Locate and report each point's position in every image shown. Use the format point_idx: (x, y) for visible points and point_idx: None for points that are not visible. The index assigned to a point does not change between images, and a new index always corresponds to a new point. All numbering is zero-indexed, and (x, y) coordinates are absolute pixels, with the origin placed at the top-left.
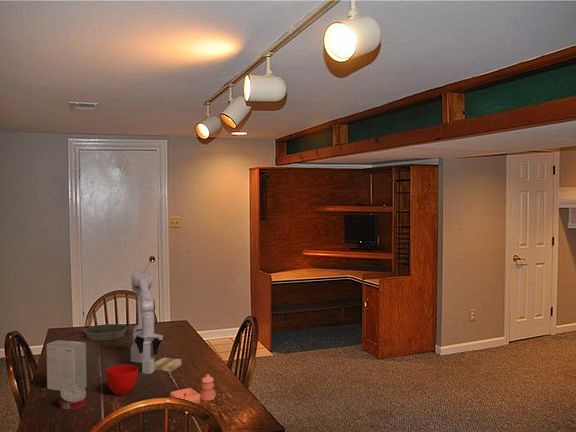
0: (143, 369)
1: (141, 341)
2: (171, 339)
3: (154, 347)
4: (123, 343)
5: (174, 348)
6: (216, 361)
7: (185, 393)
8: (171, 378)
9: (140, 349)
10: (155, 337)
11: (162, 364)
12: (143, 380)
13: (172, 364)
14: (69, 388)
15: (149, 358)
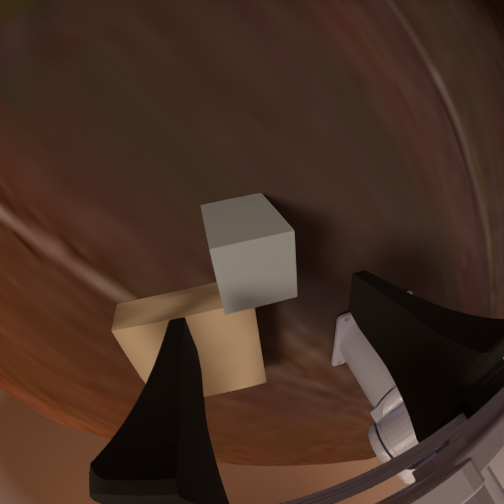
0: (259, 203)
1: (424, 385)
2: (357, 436)
3: (154, 393)
4: None
5: (318, 429)
6: (99, 432)
7: None
8: (21, 218)
9: (378, 301)
10: None
11: (174, 317)
12: (139, 75)
13: (120, 343)
14: None
15: (270, 302)
